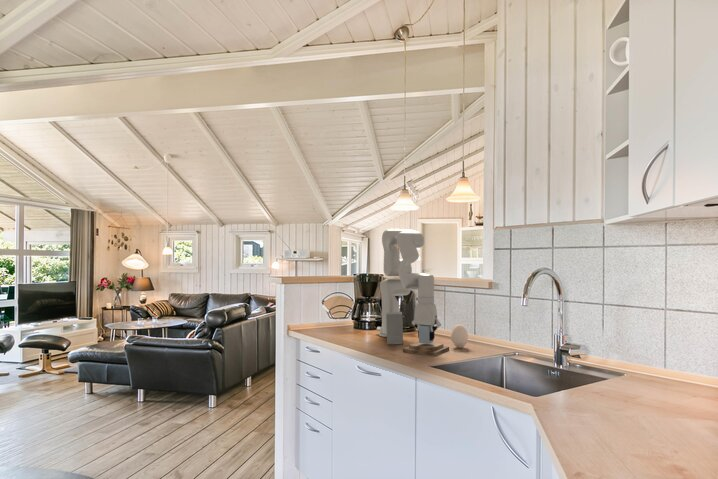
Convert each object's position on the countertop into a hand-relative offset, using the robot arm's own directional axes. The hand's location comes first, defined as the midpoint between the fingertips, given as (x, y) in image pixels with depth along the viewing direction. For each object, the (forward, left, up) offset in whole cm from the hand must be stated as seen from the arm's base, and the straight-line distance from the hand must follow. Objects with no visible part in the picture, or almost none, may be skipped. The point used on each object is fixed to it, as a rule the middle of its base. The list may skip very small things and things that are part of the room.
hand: (426, 339), depth 206 cm
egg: (+10, +16, -6) cm, 20 cm away
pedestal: (0, 0, -6) cm, 6 cm away
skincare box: (-21, +7, -6) cm, 23 cm away
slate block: (0, 0, -2) cm, 2 cm away
